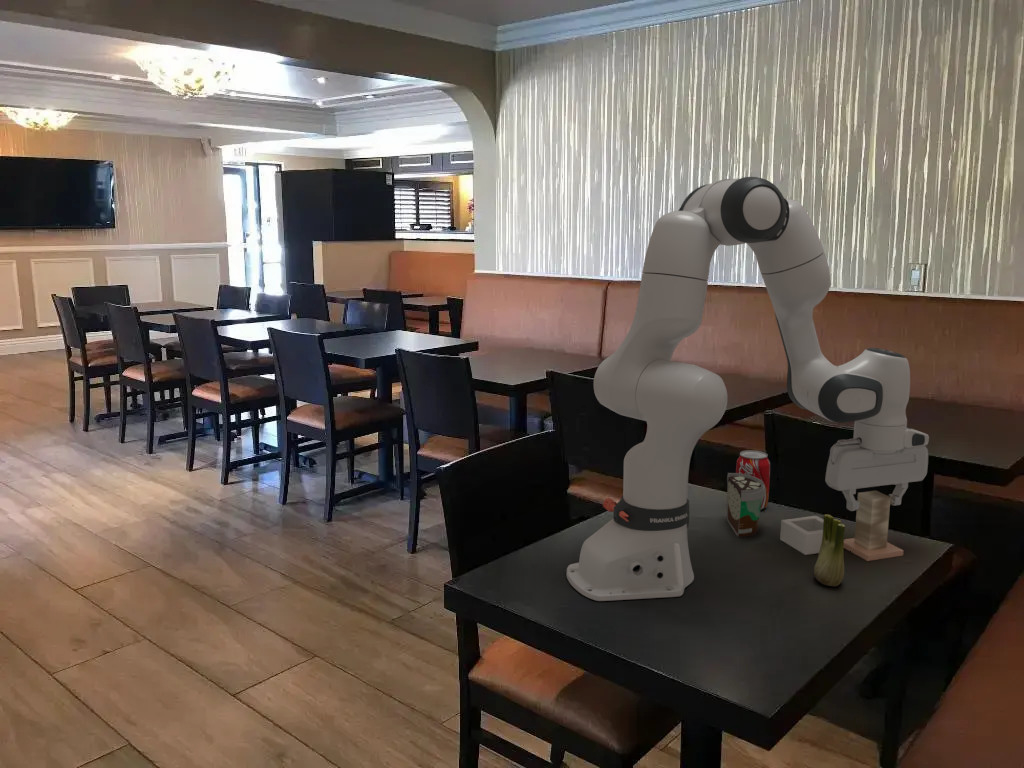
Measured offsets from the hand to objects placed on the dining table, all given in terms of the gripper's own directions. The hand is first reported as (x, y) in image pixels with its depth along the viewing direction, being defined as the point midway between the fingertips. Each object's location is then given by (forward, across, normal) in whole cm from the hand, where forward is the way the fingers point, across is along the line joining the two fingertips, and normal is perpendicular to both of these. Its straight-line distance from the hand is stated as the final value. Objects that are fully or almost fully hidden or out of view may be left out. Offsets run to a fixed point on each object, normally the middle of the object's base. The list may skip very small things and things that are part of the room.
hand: (873, 507), depth 160 cm
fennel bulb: (+9, -17, -10) cm, 21 cm away
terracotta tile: (+9, 0, 0) cm, 9 cm away
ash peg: (+8, 0, 0) cm, 8 cm away
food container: (+9, -16, +17) cm, 25 cm away
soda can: (+9, -8, +28) cm, 30 cm away
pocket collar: (+9, -9, +6) cm, 14 cm away
